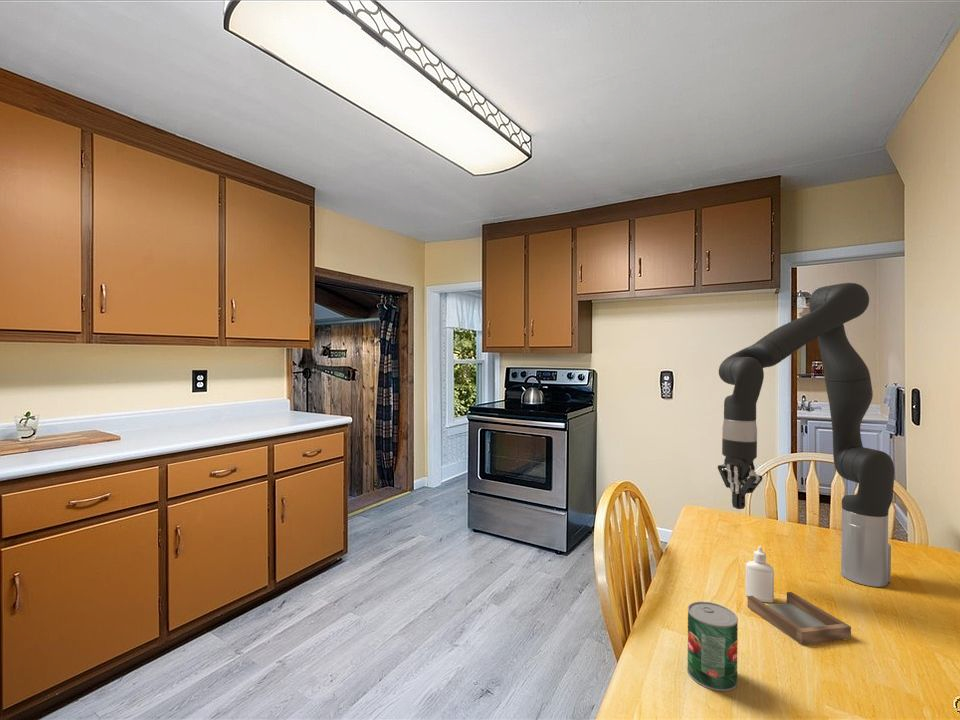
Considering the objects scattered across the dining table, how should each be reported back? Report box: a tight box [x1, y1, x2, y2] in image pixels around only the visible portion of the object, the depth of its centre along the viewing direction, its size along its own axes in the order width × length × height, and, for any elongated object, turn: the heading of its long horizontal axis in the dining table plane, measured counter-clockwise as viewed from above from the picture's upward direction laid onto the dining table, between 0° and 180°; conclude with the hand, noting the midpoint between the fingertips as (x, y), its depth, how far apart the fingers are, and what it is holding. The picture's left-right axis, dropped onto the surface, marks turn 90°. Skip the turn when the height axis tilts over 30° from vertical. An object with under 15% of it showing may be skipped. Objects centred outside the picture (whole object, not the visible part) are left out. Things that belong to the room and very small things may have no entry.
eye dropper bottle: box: [745, 545, 775, 604], centre depth 110 cm, size 4×6×12 cm
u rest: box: [747, 591, 852, 646], centre depth 100 cm, size 11×14×2 cm
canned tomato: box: [686, 601, 739, 692], centre depth 83 cm, size 8×8×11 cm
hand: (738, 507), depth 117 cm, fingers closed
